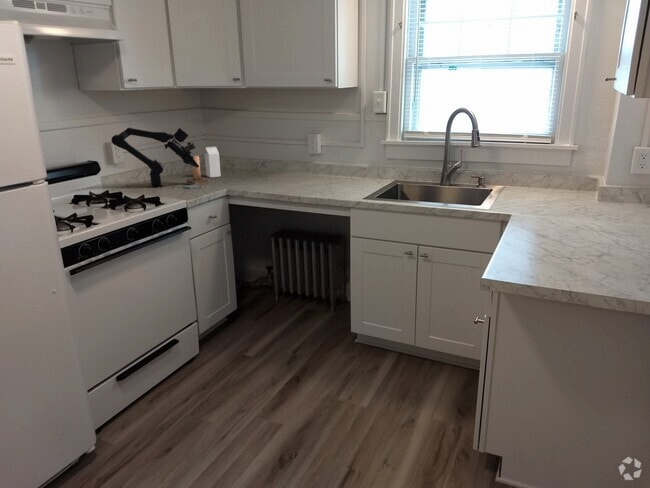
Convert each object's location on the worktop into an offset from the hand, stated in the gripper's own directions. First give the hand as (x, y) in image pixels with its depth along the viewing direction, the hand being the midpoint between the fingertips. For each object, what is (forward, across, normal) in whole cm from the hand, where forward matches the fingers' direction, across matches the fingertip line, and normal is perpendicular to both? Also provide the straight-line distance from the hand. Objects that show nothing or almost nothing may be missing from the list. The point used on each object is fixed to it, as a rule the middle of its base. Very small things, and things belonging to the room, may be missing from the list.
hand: (198, 166), depth 297 cm
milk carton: (+15, +23, 0) cm, 27 cm away
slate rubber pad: (+4, -11, +11) cm, 16 cm away
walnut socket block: (+6, 0, +8) cm, 11 cm away
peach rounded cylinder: (+4, 0, +6) cm, 7 cm away
